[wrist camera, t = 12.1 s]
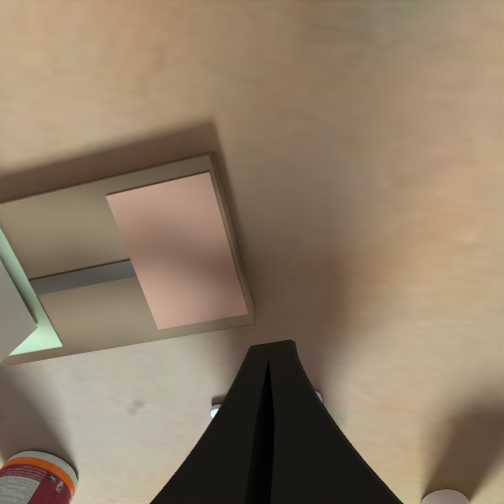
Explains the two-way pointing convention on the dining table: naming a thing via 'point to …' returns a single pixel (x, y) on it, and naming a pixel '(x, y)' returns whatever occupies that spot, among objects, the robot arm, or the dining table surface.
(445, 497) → the lidded paper cup
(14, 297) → the white block
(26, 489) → the pill bottle
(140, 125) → the dining table surface
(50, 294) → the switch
